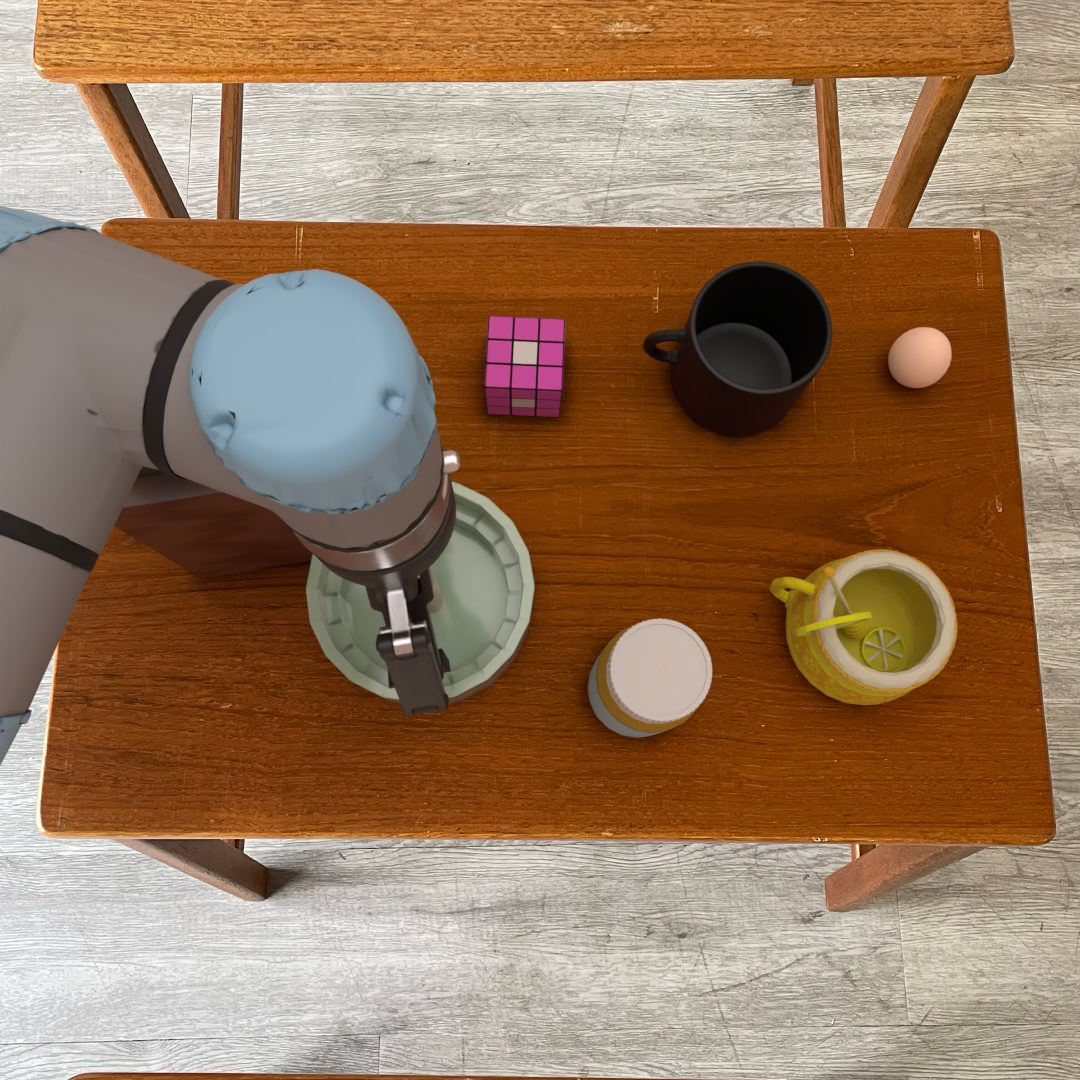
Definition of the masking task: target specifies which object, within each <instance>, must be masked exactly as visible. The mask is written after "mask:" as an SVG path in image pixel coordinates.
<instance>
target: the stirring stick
mask: <svg viewBox="0 0 1080 1080" xmlns="http://www.w3.org/2000/svg"><path fill="white" fill-rule="evenodd" d="M429 568H430V572H431V577H432V583H433V593H434V599H433V600H432V601H431V602H430V603H428V606H429V610H430V613H433V612H436V611H438V610H439V609H440V608H441V606H442V604H443V594H442V592H441V590H440V587H439V585H438V583H437V581H436V578H435V576H434V574H433V571H432V569H431V567H429ZM418 578H420V575H419V576H418Z"/></svg>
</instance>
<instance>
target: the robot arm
mask: <svg viewBox="0 0 1080 1080" xmlns="http://www.w3.org/2000/svg"><path fill="white" fill-rule="evenodd" d="M436 405H437V399H436V394H435V391H434V383H433V380H432V377H431V373H430V370H429V368H428V366H427V364H426V362H425V360H424V358H423V357H422V356H421V354H420V353H419V350H418V347H417V346H416V345H415V343H414V341H413V339H412V337H411V334H410V332H409V330H408V328H407V326H406V324H405V323H404V321H403V319H402V318H401V317H400V315H399V313H397V311H396V310H395V309H394V308H393V307H392V306H391V304H390V303H389V302H388V301H387V300H385V298H383V297H382V296H381V295H380V294H379V293H377V292H376V291H375V290H373V289H372V288H370V287H368V286H367V285H366V284H364V283H362V282H359V281H358V280H356V279H354V278H352V277H349V276H347V275H344V274H342V273H338V272H333V271H330V270H325V269H320V268H314V269H308V270H307V269H304V270H292V271H287V272H280V273H268V274H265V275H263V276H260V277H257V278H255V279H252V280H250V281H248V282H247V283H242V282H240V283H235V282H232V281H230V280H227V279H223V278H219V277H217V276H214V275H212V274H209V273H206V272H203V271H201V270H199V269H196V268H193V267H190V266H188V265H185V264H182V263H180V262H177V261H174V260H171V259H168V258H166V257H164V256H160V255H158V254H155V253H152V252H150V251H147V250H145V249H141V248H139V247H136V246H134V245H130V244H129V243H125V242H124V241H123V242H122V241H120V240H117V239H115V238H112V237H109V236H108V235H105V234H102V233H101V232H100V231H98V230H97V229H94V228H92V227H89V226H86V225H81V224H78V223H76V222H71V221H70V222H69V221H63V220H58V219H56V218H52V217H49V216H45V215H42V214H38V213H35V212H31V211H28V210H26V209H22V208H11V207H7V206H3V205H0V766H1V765H2V763H3V762H4V760H5V757H6V756H7V754H8V752H9V750H10V748H11V747H12V744H13V743H14V740H15V739H16V737H17V735H18V734H19V731H20V730H21V728H22V726H23V725H26V724H28V722H29V720H30V719H31V716H32V711H33V710H32V709H30V708H31V705H32V703H33V701H34V698H35V696H36V694H37V692H38V690H39V688H40V685H41V683H42V681H43V678H44V676H45V674H46V672H47V670H48V667H49V665H50V663H51V660H52V658H53V656H54V654H55V652H56V649H57V648H58V645H59V642H61V641H60V640H61V638H62V636H63V634H64V632H65V630H66V627H67V625H68V623H69V621H70V618H71V616H72V614H73V612H74V609H75V607H76V605H77V602H78V601H79V598H80V596H81V594H82V591H83V590H84V587H85V586H86V583H87V580H88V578H89V576H90V574H91V572H92V571H93V570H94V568H95V566H96V564H97V561H98V559H99V558H100V556H101V554H102V553H103V550H104V549H105V546H106V544H107V543H108V541H109V537H110V536H111V533H112V531H113V529H114V527H115V526H114V525H115V523H116V521H117V519H118V517H119V514H120V512H121V510H122V508H123V506H124V504H125V502H126V500H127V497H128V495H129V493H130V491H131V489H132V487H133V485H134V483H135V480H136V478H137V476H138V474H139V472H140V470H141V469H142V468H143V466H144V467H148V468H152V469H157V470H160V471H161V472H163V473H166V474H168V475H171V476H174V477H176V478H179V479H189V480H191V481H193V482H196V483H199V484H202V485H204V486H207V487H210V488H213V489H215V490H218V491H221V492H224V493H226V494H229V495H232V496H235V497H238V498H240V499H243V500H246V501H249V502H251V503H254V504H257V505H260V506H262V507H265V508H267V509H269V510H271V511H273V512H275V513H276V514H277V515H278V516H279V517H280V518H281V519H282V520H283V521H284V522H285V523H286V524H287V526H288V527H289V528H290V529H291V530H292V531H293V533H294V534H295V535H296V536H297V537H298V539H299V540H300V541H301V542H302V543H303V545H304V546H305V547H306V548H307V549H308V550H310V551H311V552H312V553H313V554H314V555H315V556H316V557H317V558H318V559H319V560H320V561H321V562H322V563H323V564H324V565H325V566H326V567H327V568H328V569H329V570H330V571H332V572H333V573H335V574H336V575H338V576H339V577H341V578H343V579H345V580H348V581H350V582H353V583H356V584H359V585H362V586H365V588H366V591H367V595H368V598H369V602H370V606H371V608H372V609H374V610H376V611H380V612H381V613H382V614H383V618H384V621H385V625H386V626H385V627H380V628H379V634H377V638H376V650H377V651H379V654H380V657H381V658H382V659H383V660H384V661H385V663H386V665H387V668H388V683H389V688H390V689H391V688H395V689H396V692H397V695H398V698H399V700H400V703H401V704H400V707H401V711H402V712H403V714H404V716H405V717H407V718H408V717H413V716H418V715H424V714H429V713H436V712H441V711H442V712H443V711H448V708H449V704H450V703H449V698H448V694H446V693H445V689H444V686H443V682H442V680H443V677H444V673H445V672H450V671H451V670H450V663H449V659H448V658H447V656H446V654H445V653H444V651H443V649H442V648H441V649H438V646H437V642H436V637H435V633H434V628H433V624H432V619H431V615H430V610H429V606H428V603H430V602H431V601H432V600H433V599H434V593H433V583H432V577H431V572H430V568H429V567H430V566H431V565H432V564H433V563H434V562H435V561H436V560H437V559H438V558H439V557H440V555H441V554H442V553H443V551H444V550H445V548H446V546H447V545H448V543H449V541H450V538H451V536H452V533H453V530H454V525H455V520H456V501H455V495H454V490H453V486H452V482H453V481H452V479H451V474H452V473H455V472H456V471H459V470H460V468H461V456H460V454H459V453H458V451H456V450H454V449H449V450H444V449H443V446H442V438H441V434H440V431H439V429H438V425H437V424H438V419H437V416H436V413H435V407H436ZM419 575H420V578H418V576H419ZM448 703H449V704H448Z"/></svg>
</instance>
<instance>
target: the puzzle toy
mask: <svg viewBox="0 0 1080 1080" xmlns="http://www.w3.org/2000/svg"><path fill="white" fill-rule="evenodd" d="M486 331H487V332H486V349H485V366H484V367H485V369H484V386H483V388H484V399H485V409H486V414H487V415H503V416H505V415H506V416H511V415H512V416H525V417H535V416H536V417H546V418H560V416H561V410H562V399H563V391H564V370H565V369H564V367H565V366H564V365H565V343H566V340H565V339H566V320H565V318H554V317H553V318H550V317H540V318H539V317H533V316H531V317H528V316H527V317H526V316H508V315H507V316H506V315H505V316H504V315H488V317H487V330H486Z"/></svg>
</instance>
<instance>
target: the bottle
mask: <svg viewBox="0 0 1080 1080" xmlns="http://www.w3.org/2000/svg"><path fill="white" fill-rule="evenodd" d="M713 670H714V669H713V663H712V657H711V655H710V652H709V650H708V647H707V646H706V644H705V642H704V641H703V640H702V638H701V637H700V636H699V635H698V634H697V632H695V631H694V629H692V628H690V627H689V626H687V625H685V624H684V623H682V622H679V621H677V620H673V619H667V618H660V617H658V618H652V619H647V620H642V621H641V622H637V623H635V624H632V625H630V626H628V627H626V628H624V629H622V630H621V631H619V632H617V633H616V634H615V635H614V636H613V637H612V638H611V639H610V640H609V641H608V642H607V643H606V645H605V646H604V648H603V649H602V651H601V652H600V654H599V655H598V657H597V658H596V659H595V662H594V664H593V665H592V668H591V669H590V673H589V676H588V682H587V693H588V700H589V704H590V706H591V708H592V710H593V713H594V715H595V716H596V718H597V719H598V720H599V721H600V722H601V724H603V725H604V726H605V727H606V728H607V729H609V730H610V731H612V732H614V733H616V734H618V735H619V736H624V737H628V738H637V739H638V738H645V737H646V738H647V737H652V736H655V735H658V734H661V733H664V732H668V731H671V730H673V729H675V728H677V727H679V726H680V725H682V724H684V723H685V722H687V721H688V720H689V719H690V717H692V716H693V714H695V713H696V711H697V710H698V708H699V707H700V705H701V704H703V703H704V700H705V699H706V697H707V694H709V690H710V689H711V684H712V681H713V680H712V678H713Z"/></svg>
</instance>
